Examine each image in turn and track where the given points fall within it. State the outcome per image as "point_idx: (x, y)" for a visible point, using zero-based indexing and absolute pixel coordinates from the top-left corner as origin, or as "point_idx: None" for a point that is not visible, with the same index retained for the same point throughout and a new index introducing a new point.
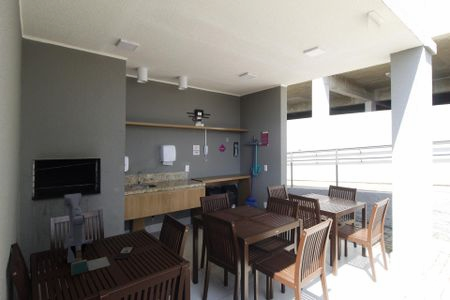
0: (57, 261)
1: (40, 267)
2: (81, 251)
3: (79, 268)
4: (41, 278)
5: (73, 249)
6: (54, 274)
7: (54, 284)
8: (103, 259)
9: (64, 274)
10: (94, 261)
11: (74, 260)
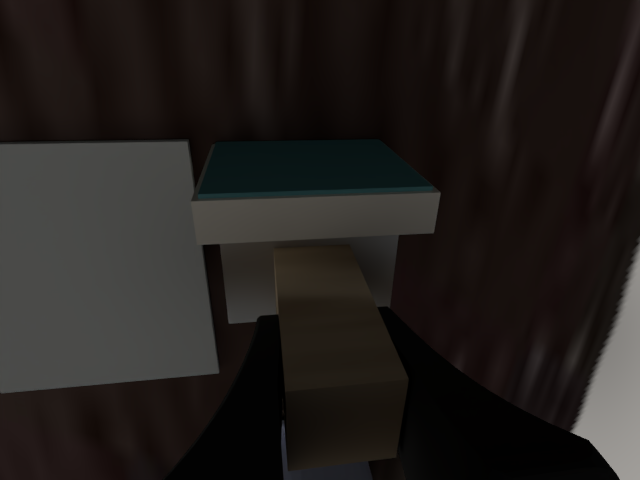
0: None
1: None
2: (289, 399)
3: (306, 159)
4: (601, 245)
5: (546, 450)
6: (503, 264)
7: (570, 27)
8: (25, 345)
9: None
10: (131, 341)
11: None
